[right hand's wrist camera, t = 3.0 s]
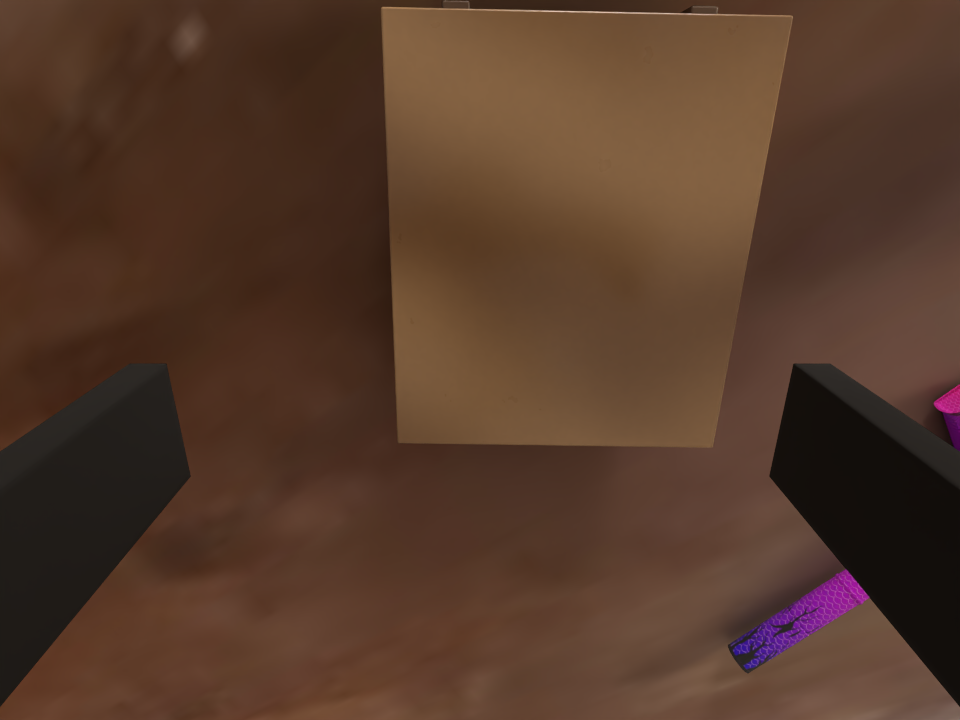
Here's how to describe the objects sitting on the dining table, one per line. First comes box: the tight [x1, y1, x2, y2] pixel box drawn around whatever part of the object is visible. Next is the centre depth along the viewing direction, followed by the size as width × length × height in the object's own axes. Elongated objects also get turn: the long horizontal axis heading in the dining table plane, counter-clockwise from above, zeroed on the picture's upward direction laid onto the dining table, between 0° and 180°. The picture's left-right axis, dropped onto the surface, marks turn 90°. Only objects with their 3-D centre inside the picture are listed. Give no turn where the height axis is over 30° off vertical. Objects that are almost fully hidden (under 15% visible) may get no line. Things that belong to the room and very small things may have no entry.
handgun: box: [728, 384, 960, 673], centre depth 33 cm, size 21×8×2 cm, turn 135°
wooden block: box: [381, 7, 793, 448], centre depth 23 cm, size 13×11×10 cm
